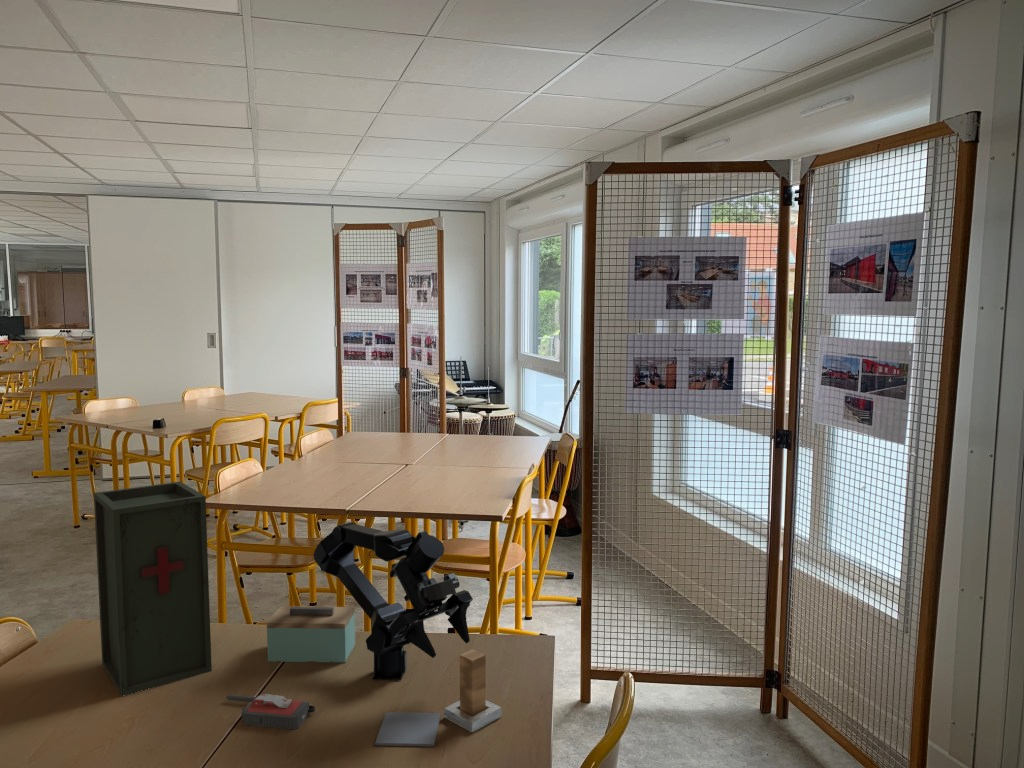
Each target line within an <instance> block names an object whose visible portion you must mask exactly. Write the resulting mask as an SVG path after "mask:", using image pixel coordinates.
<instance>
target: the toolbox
mask: <svg viewBox="0 0 1024 768" xmlns="http://www.w3.org/2000/svg"><path fill="white" fill-rule="evenodd" d="M355 608H356V607H355V606H307V605H306V606H305V605H304V606H302V605H301V606H300V605H299V606H297V605H292V606H290V605H281V606H279V607H278V609H277V610H276V611H275V613H274V614H273V615H272V616H271V617H270V619H269V620H268V621H267V622H266V638H267V639H266V643H267V647H266V648H267V662H277V661H281V662H280V663H282V662H283V663H284V662H285V663H286V662H287V663H289V662H290V663H291V662H293V663H298V662H299V663H311V662H310V661H314V662H313V663H330V662H329V661H332V662H331V663H346V662H347V661H348V659H349V657H348V656H350V655H351V653H352V651H353V649H354V647H355V645H356V614H355V613H356V612H355ZM349 654H350V655H349ZM347 658H348V659H347ZM346 660H347V661H346ZM307 661H309V662H307ZM315 661H316V662H315ZM317 661H318V662H317Z"/></svg>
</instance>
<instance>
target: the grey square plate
mask: <svg viewBox="0 0 1024 768" xmlns="http://www.w3.org/2000/svg"><path fill="white" fill-rule="evenodd" d="M440 720H441V712H396V711H395V712H393V711H389V712H387V711H386V712H385V714H384V716H383V719H382V723H381V725H380V728H379V731H378V733H377V736H376V739H375V743H374V745H375V746H379V747H380V746H386V747H389V746H390V747H435V742H436V739H437V734H438V729H439V725H440Z"/></svg>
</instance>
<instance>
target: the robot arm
mask: <svg viewBox="0 0 1024 768" xmlns="http://www.w3.org/2000/svg"><path fill="white" fill-rule="evenodd" d="M356 547H360V548H363V549H367V550H371V551H373V552H374V555H375V557H377V558H379V559H380V560H382V561H384V562H391V561H394V560H398V559H399V560H398V562H396V563H392V564H391V569H390V571H389V577H390V578H395V577H396V578H397V579H398V581H399V583H400V585H401V587H402V589H403V590H404V593H405V596H404V597H403V599H404V601H405V602H410V605H412V607H413V608H411V609H407V610H405V608H404V606H403V605H402V604H401V603H399V601H398V602H395V603H392V604H390V603H388V602H387V600H385V598H384V597H383V596H382V595H381V593H380V592H379V590H377V589H376V587H375V586H374V584H373V583H372V582H371V581H370V580H369V578H368V577H367V576H366V575H365V574H364V573H363V571H362V570H361V569H360V567H359V566H358V565H357V564H356V562H355V549H356ZM444 553H445V546H444V543H443V542H442V541H441V540H440V539H438V538H437V537H436V536H434V535H431V534H428V530H423V531H420V532H418V533H417V534H416V536H415V535H412V534H411V532H410V531H409V530H407V529H393V530H381V529H376V528H373V527H367V526H364V525H360V524H357V522H353V521H352V522H351V521H350V522H346V523H340V524H338V525H336V526H335V527H334V528H333V529H332V530H331V532H330V533H329V534H328V535H326V536H325V537H324V538H323V539H322V540H320V542H319V543H318V544H317V545H316V547H315V549H314V551H313V560H314V562H315V564H316V565H317V566H318V567H319V568H320V569H321V570H322V571H323V572H324V573H326V574H328V575H331V576H334V577H337V578H338V579H339V581H340V582H341V584H342V585H343V586H344V587H345V588H346V589H347V591H348V593H349V594H350V595H351V596H352V598H353V599H354V600H355V601H356V602H357V604H358V605H359V606H360V607H361V609H362V610H363V611H364V613H365V614H366V615H367V616H368V617H369V619H370V632H371V634H370V635H369V636H368V637H367V638H366V639H365V644H366V648H367V651H370V652H372V653H373V674H372V675H371V679H372V680H384V681H385V680H391V681H392V680H397V681H398V680H399V681H400V680H402V679H403V675H404V674H405V673H406V671H407V668H408V667H407V665H408V663H407V661H408V660H407V657H408V656H407V653H408V652H407V650H405V646H406V645H410V644H412V645H414V646H416V647H417V648H418V649H420V650H421V651H422V652H423V653H425V654H427V655H428V656H429V657H431V658H432V659H433V658H435V657H436V656H437V653H436V651H435V650H436V649H434V648H435V647H434V646H433V644H432V642H431V640H430V639H429V637H428V635H427V632H426V630H425V625H424V624H425V623H424V621H426V620H428V619H430V618H433V617H436V616H439V615H442V614H445V615H446V616H448V618H447V621H448V622H449V624H450V625H451V626H452V627H453V629H454V631H455V632H456V633H457V634H458V636H459V637H460V638H461V640H462V641H463V642H464V643H465V644H468V643H470V641H471V640H470V633H469V628H468V623H467V622H468V621H467V611H468V608H470V606H471V602H472V601H474V600H473V599H474V598H473V597H472V595H471V593H470V592H469V591H468V590H464V589H463V590H460V591H458V592H456V591H457V590H456V589H458V588H460V585H461V584H460V581H459V578H458V576H457V575H456V574H455V572H452V573H449V574H446V575H443V581H439V582H437V580H436V579H435V578H434V577H432V578H430V577H429V576H428V574H427V572H429V571H430V570H431V569H433V567H434V565H436V564H437V562H438V561H439V560H440V559H441V558H442V557H443V555H444ZM450 595H451V596H450ZM447 596H450V597H449V598H448V597H447ZM447 598H448V599H447ZM443 601H444V602H443Z"/></svg>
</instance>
